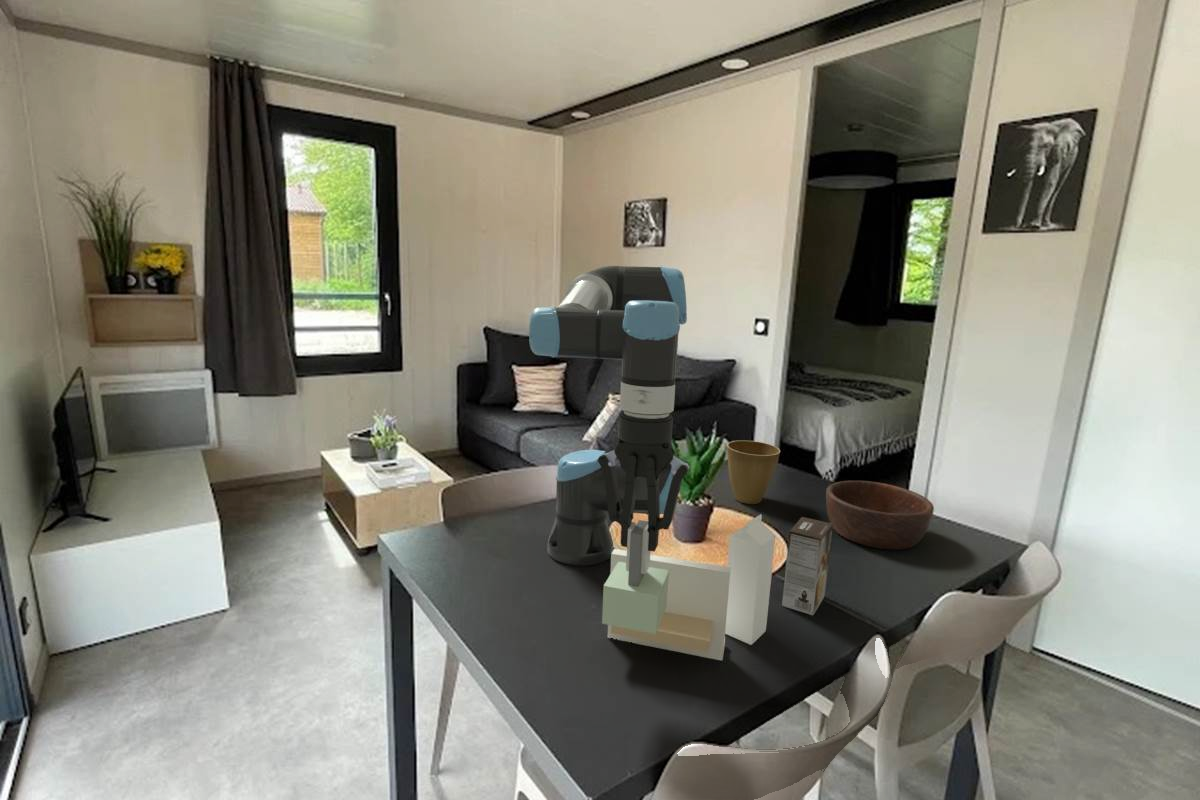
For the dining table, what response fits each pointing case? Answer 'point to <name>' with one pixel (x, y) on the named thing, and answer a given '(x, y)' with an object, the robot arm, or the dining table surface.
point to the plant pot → (751, 469)
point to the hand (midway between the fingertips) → (637, 568)
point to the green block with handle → (635, 591)
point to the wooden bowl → (878, 514)
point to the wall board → (686, 608)
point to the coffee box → (807, 565)
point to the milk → (749, 580)
